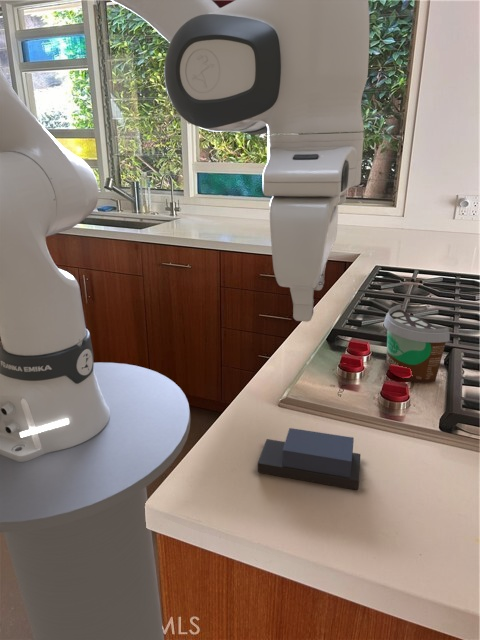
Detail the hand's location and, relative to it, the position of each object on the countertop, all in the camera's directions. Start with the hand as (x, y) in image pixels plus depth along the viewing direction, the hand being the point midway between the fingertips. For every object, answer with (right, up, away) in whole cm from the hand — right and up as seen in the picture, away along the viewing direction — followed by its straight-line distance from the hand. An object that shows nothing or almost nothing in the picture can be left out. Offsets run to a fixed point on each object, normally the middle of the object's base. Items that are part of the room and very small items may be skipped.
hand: (309, 302), depth 49 cm
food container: (+20, -11, +30) cm, 38 cm away
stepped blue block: (+1, -20, +8) cm, 22 cm away
